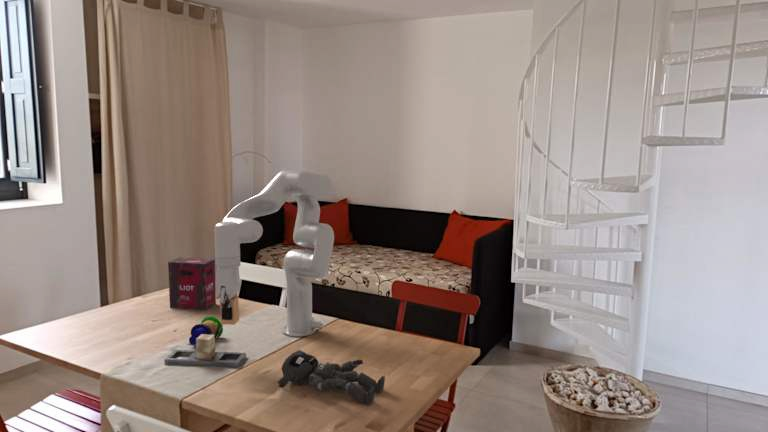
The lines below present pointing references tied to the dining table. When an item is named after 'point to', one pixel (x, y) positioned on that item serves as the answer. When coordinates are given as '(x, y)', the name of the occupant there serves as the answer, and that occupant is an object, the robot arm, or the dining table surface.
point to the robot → (330, 376)
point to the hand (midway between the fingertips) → (229, 316)
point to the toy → (206, 329)
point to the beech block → (205, 347)
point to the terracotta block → (234, 311)
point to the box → (192, 283)
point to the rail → (218, 360)
